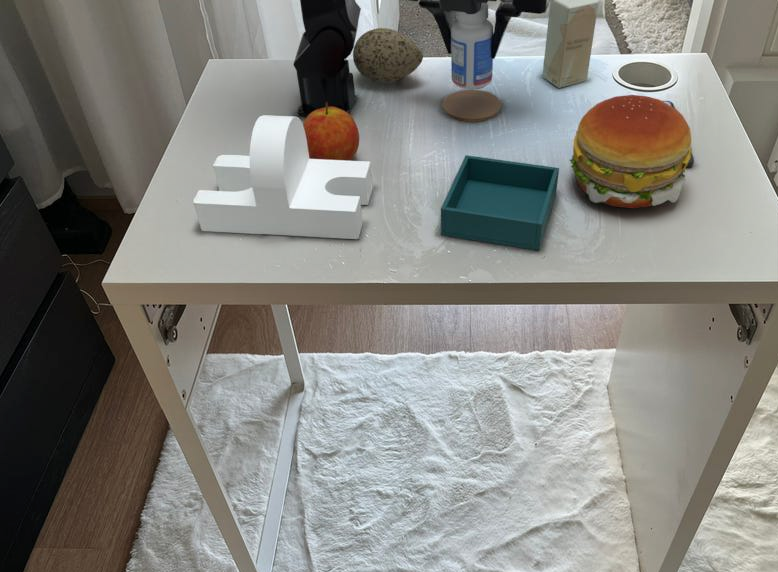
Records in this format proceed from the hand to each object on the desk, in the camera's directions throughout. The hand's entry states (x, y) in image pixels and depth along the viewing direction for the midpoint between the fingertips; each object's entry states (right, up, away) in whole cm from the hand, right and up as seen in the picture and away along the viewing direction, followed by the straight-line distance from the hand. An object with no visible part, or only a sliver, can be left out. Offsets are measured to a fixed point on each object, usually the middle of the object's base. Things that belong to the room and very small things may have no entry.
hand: (471, 55), depth 99 cm
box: (+14, +1, +10) cm, 17 cm away
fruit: (-17, -15, -4) cm, 23 cm away
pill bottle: (0, -3, +3) cm, 4 cm away
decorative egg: (-16, +4, +9) cm, 19 cm away
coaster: (0, -5, +5) cm, 7 cm away
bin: (+3, -23, -12) cm, 26 cm away
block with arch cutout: (-22, -22, -10) cm, 33 cm away
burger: (+18, -19, -8) cm, 27 cm away
